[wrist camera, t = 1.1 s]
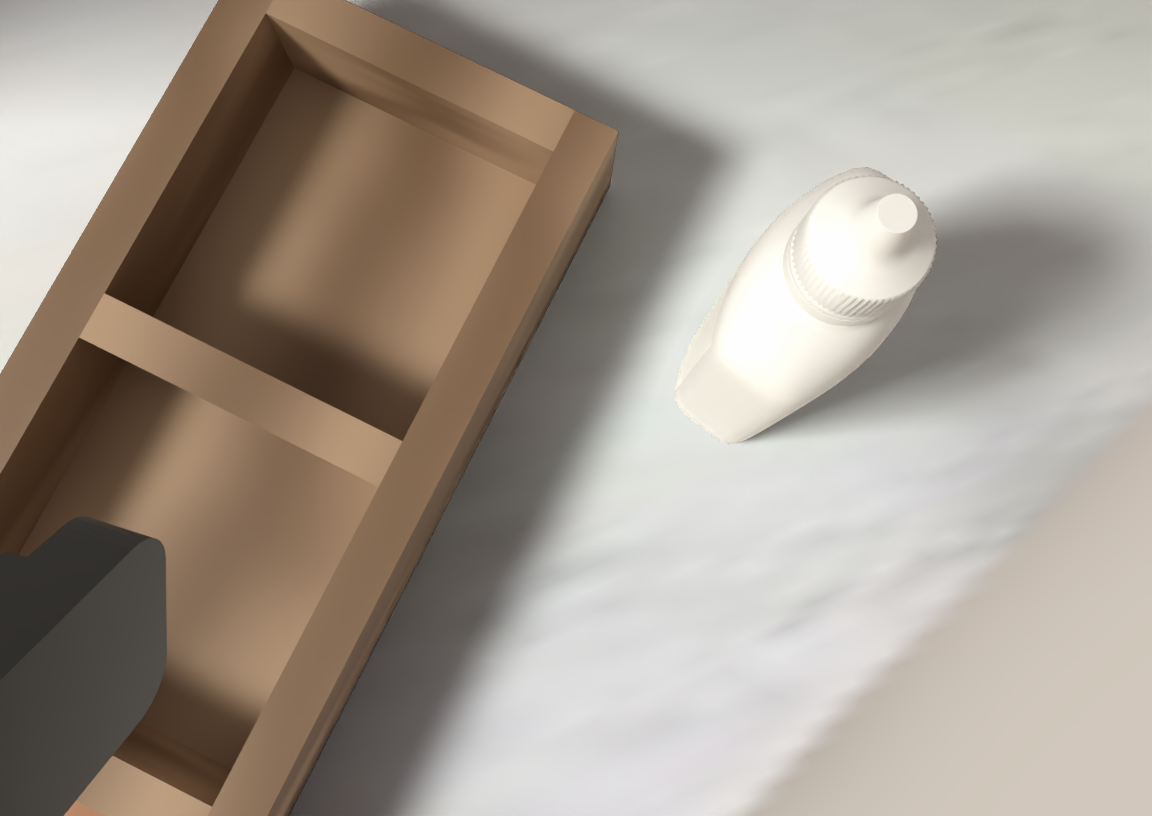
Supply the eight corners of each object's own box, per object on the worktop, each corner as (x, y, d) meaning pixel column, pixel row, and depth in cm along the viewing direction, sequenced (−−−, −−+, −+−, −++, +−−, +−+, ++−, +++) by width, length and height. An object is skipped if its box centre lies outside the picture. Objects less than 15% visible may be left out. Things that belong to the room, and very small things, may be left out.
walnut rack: (-263, 990, 27) (-405, 1066, 23) (285, 30, 31) (246, -48, 27) (111, 1191, 26) (33, 1303, 22) (618, 191, 30) (629, 136, 26)
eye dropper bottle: (635, 317, 30) (692, 157, 18) (817, 243, 30) (991, 40, 18) (697, 461, 29) (798, 395, 17) (881, 384, 30) (1103, 268, 18)
